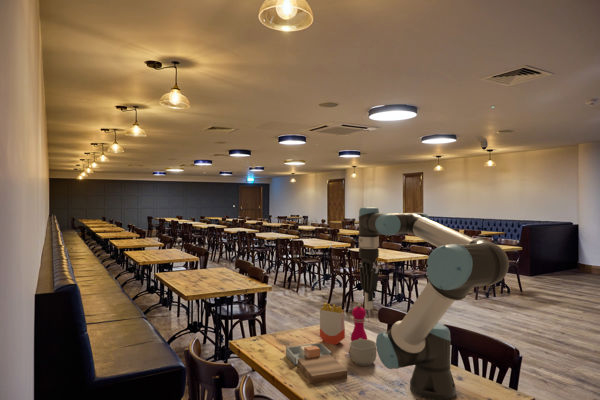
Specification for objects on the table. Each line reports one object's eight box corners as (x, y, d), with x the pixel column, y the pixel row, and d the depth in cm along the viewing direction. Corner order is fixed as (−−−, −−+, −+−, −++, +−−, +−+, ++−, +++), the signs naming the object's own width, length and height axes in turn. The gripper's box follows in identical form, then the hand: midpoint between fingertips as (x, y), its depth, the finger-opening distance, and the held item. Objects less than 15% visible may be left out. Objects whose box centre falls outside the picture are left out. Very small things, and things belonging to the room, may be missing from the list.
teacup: (376, 369, 157) (376, 349, 157) (348, 367, 159) (348, 347, 159) (376, 355, 170) (376, 337, 170) (351, 353, 172) (351, 335, 172)
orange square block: (320, 356, 162) (319, 348, 162) (308, 357, 160) (308, 350, 161) (315, 353, 167) (315, 345, 167) (304, 354, 165) (304, 347, 165)
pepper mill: (352, 344, 183) (352, 300, 183) (368, 346, 181) (368, 302, 181) (349, 350, 176) (349, 305, 176) (365, 352, 174) (366, 306, 174)
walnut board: (347, 378, 149) (347, 370, 149) (312, 384, 144) (312, 375, 144) (329, 361, 164) (330, 354, 164) (297, 366, 159) (297, 359, 159)
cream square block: (315, 356, 167) (315, 349, 167) (304, 358, 165) (304, 350, 165) (311, 352, 172) (311, 345, 172) (300, 353, 170) (300, 346, 170)
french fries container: (324, 338, 191) (324, 300, 191) (345, 342, 185) (345, 304, 185) (319, 341, 187) (319, 302, 187) (340, 346, 181) (340, 306, 181)
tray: (331, 360, 165) (331, 352, 165) (294, 366, 159) (294, 357, 159) (320, 350, 176) (320, 342, 176) (286, 355, 170) (286, 347, 170)
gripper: (352, 245, 159) (352, 305, 159) (368, 250, 146) (368, 314, 147) (369, 245, 161) (368, 303, 161) (386, 249, 149) (386, 312, 149)
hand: (368, 308), depth 154 cm, fingers closed
